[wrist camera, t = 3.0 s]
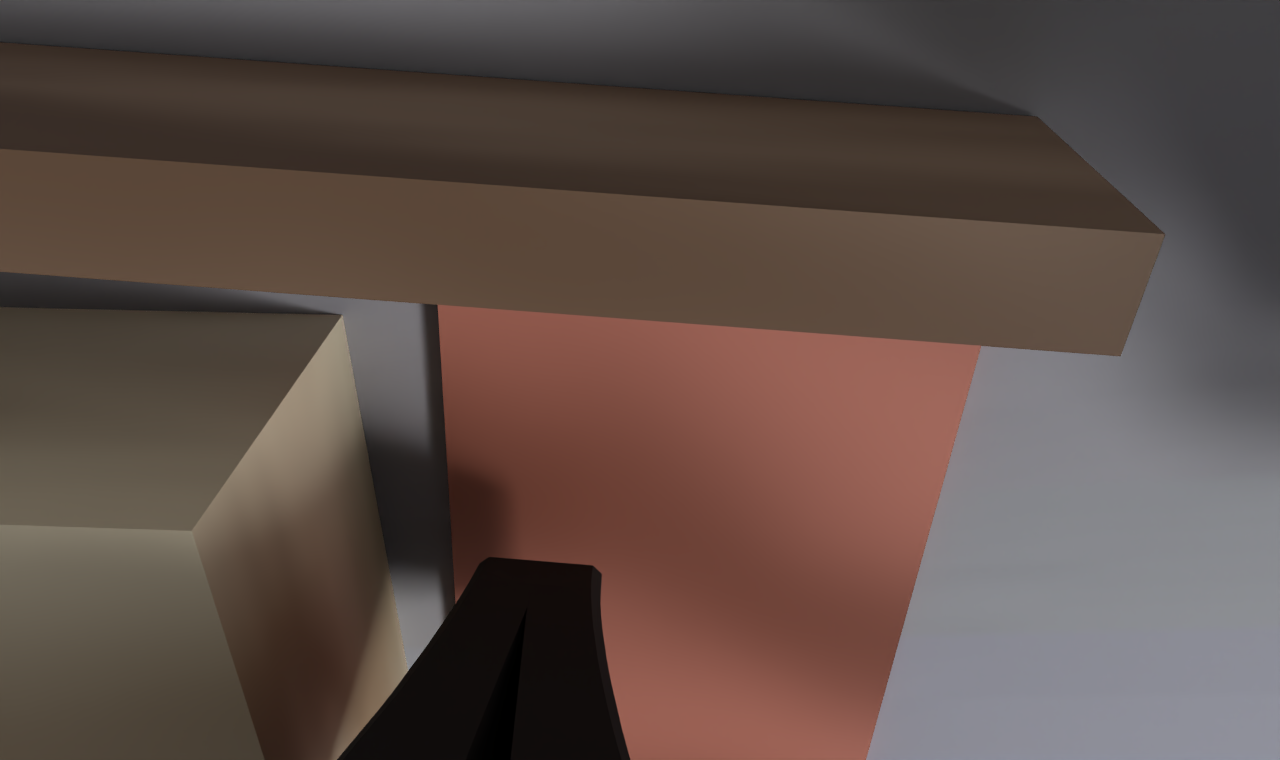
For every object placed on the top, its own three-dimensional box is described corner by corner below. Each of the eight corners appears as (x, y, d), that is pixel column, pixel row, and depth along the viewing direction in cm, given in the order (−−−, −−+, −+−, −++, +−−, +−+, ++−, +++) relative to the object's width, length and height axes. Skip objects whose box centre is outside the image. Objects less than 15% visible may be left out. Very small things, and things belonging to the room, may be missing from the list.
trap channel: (786, 1031, 19) (799, 1227, 16) (-314, 935, 19) (-472, 1111, 16) (1036, 115, 9) (1165, 233, 7) (-1132, -39, 10) (-1793, 17, 7)
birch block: (412, 667, 14) (322, 940, 11) (23, 651, 14) (-185, 913, 11) (348, 307, 11) (190, 530, 8) (-146, 296, 11) (-508, 507, 8)
